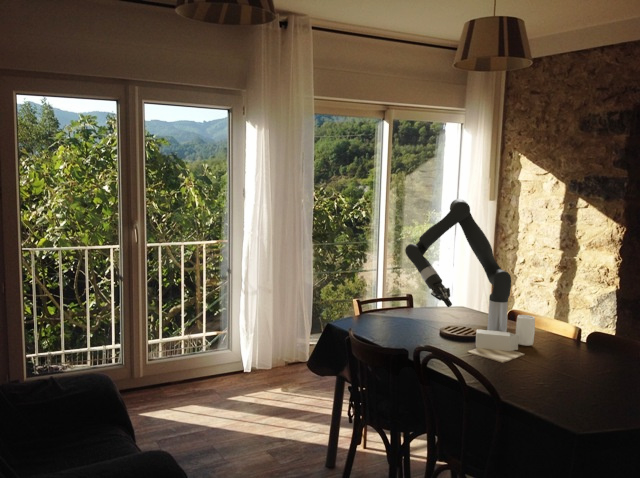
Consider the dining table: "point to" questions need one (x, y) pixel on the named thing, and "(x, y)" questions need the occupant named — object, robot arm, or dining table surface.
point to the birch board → (496, 354)
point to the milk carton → (496, 340)
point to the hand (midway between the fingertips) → (450, 306)
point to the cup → (525, 329)
